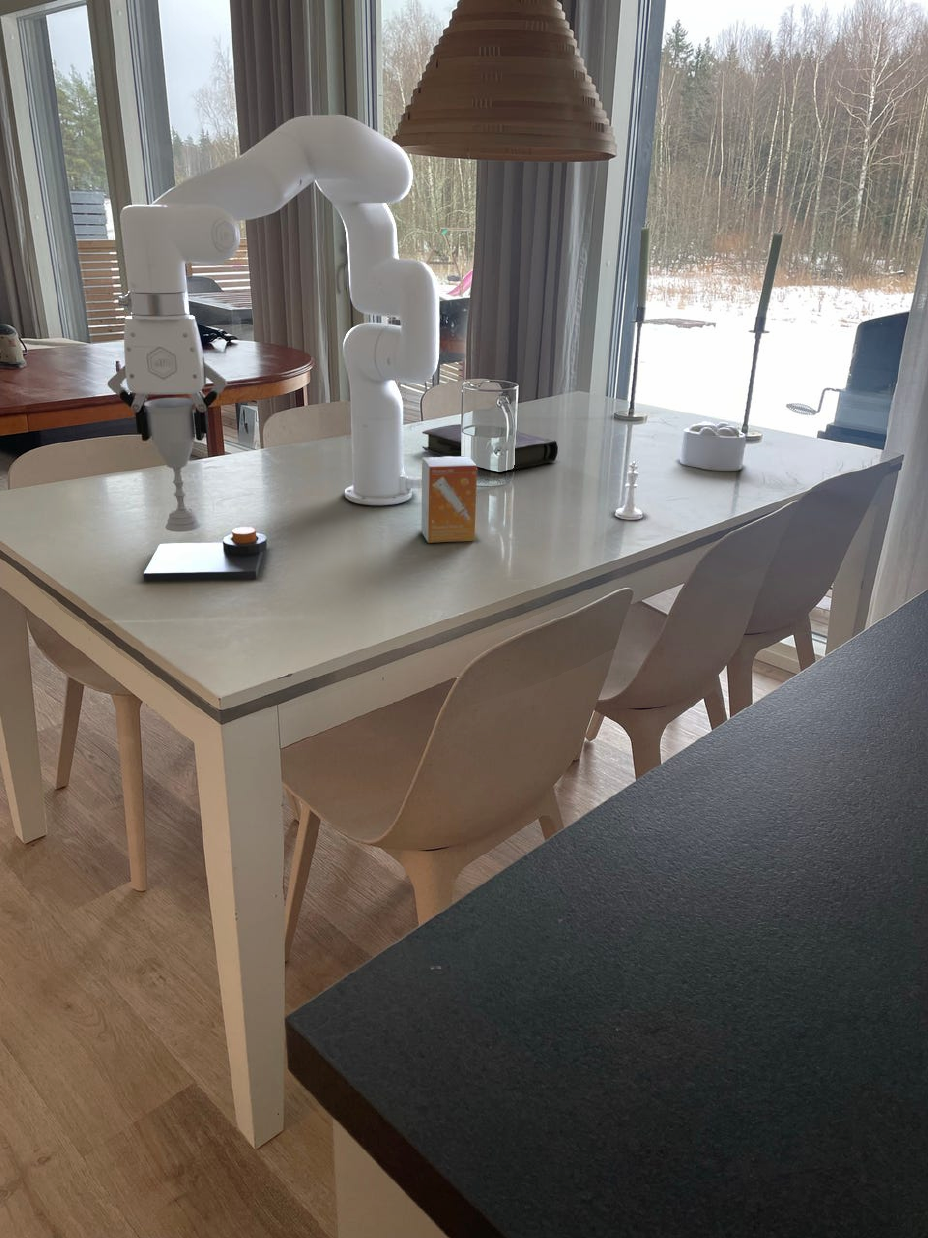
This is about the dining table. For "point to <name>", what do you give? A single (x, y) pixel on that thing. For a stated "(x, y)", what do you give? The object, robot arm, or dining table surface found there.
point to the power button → (244, 535)
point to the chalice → (174, 450)
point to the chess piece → (630, 498)
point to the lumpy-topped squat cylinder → (713, 447)
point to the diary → (526, 447)
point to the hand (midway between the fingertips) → (173, 437)
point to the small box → (449, 499)
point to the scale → (206, 561)
